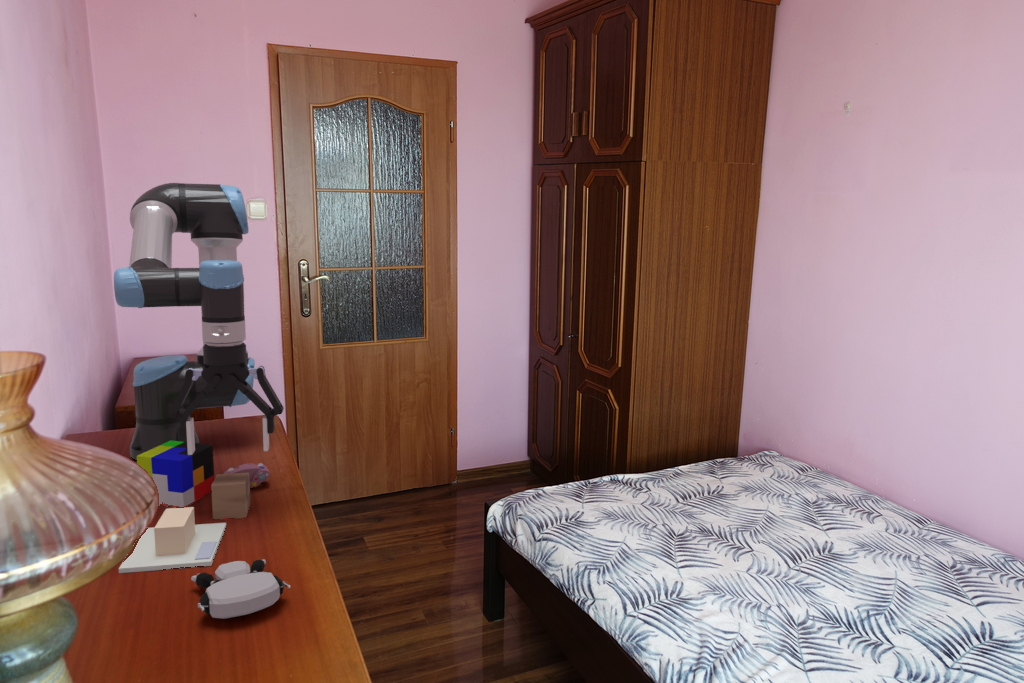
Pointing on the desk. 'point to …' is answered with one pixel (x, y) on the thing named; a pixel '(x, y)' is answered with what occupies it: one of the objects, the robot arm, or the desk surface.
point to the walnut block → (230, 495)
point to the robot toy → (238, 589)
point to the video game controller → (252, 473)
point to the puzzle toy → (179, 471)
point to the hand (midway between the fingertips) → (229, 451)
